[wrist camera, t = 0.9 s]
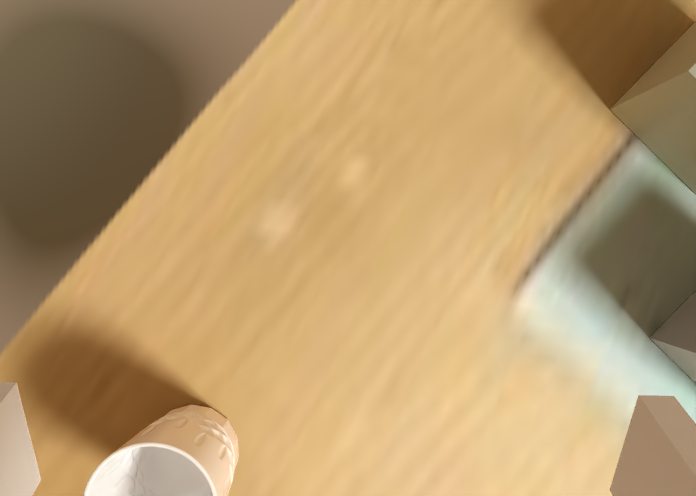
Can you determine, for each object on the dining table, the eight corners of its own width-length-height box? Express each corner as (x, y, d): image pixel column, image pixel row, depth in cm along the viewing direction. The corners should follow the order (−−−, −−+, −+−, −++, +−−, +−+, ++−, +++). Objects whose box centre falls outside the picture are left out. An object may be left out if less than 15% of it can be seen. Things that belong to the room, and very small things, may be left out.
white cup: (165, 379, 44) (112, 421, 34) (263, 420, 44) (239, 474, 34) (125, 477, 44) (60, 547, 34) (223, 517, 44) (187, 599, 34)
